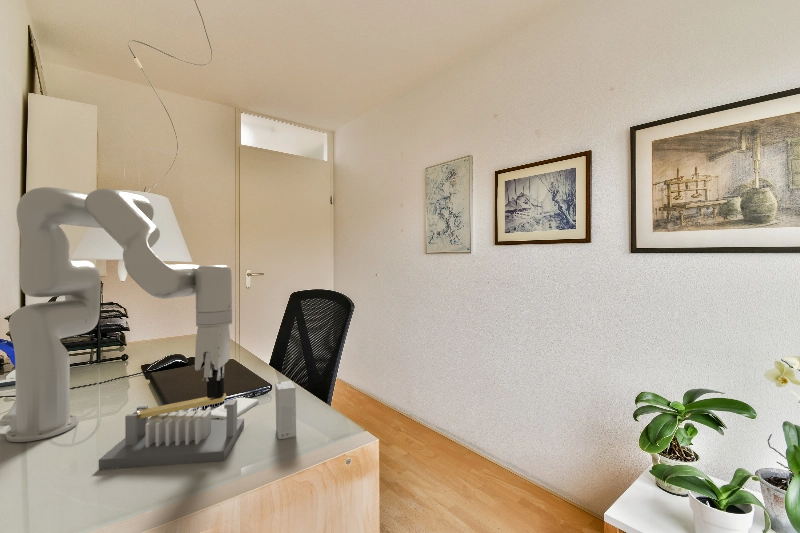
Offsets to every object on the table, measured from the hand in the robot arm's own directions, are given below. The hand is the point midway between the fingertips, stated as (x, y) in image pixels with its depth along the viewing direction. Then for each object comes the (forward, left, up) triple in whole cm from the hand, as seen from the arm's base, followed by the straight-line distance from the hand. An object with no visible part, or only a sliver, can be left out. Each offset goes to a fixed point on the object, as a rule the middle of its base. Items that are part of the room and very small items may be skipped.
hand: (215, 396), depth 84 cm
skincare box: (+15, +3, -11) cm, 19 cm away
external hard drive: (-1, +19, -12) cm, 23 cm away
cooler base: (-8, 0, -11) cm, 13 cm away
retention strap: (-8, 0, -3) cm, 8 cm away
